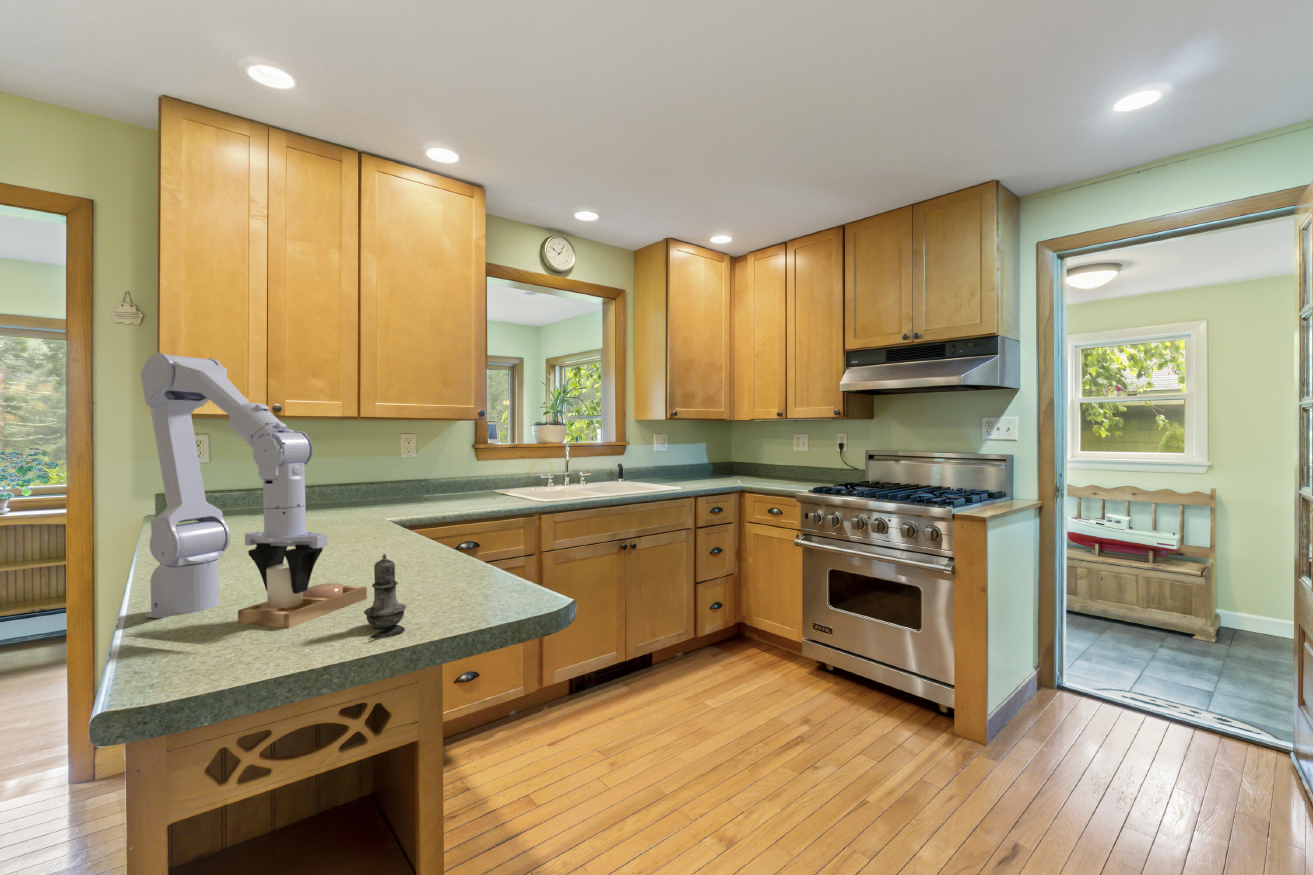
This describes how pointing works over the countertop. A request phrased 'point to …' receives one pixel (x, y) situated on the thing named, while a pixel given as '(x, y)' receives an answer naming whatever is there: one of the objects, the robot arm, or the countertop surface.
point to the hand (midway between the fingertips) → (286, 590)
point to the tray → (300, 609)
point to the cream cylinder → (281, 587)
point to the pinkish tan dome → (325, 590)
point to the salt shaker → (385, 601)
